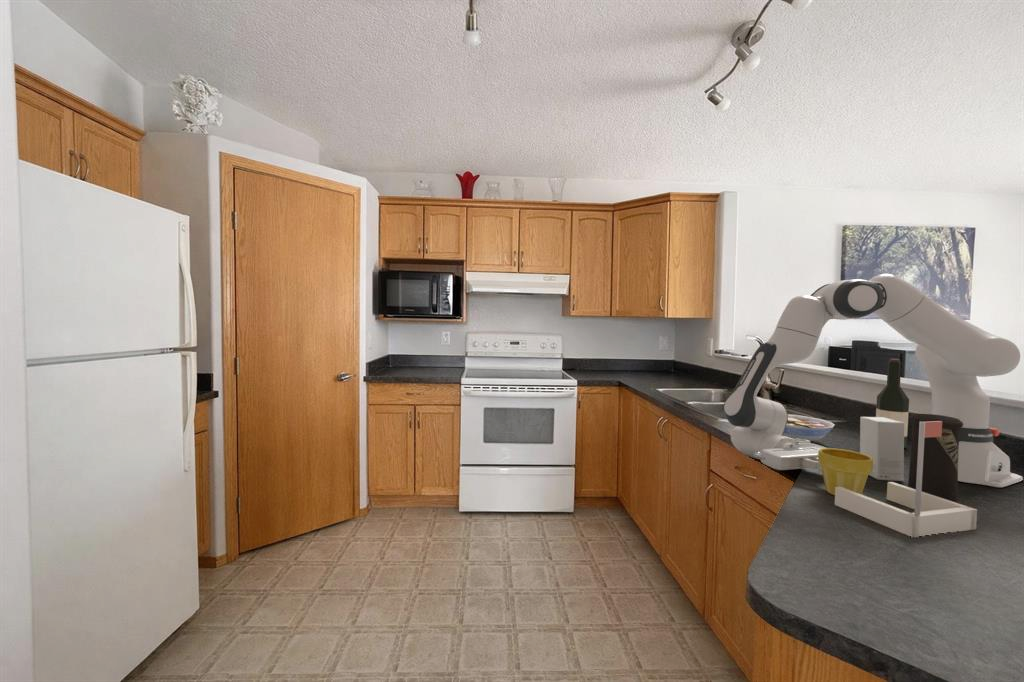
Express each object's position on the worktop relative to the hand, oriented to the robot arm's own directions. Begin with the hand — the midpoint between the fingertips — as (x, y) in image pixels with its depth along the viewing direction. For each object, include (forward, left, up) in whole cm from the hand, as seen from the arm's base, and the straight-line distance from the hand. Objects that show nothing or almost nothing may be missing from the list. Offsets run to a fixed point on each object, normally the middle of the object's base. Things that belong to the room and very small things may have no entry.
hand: (827, 467), depth 108 cm
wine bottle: (-60, -27, -5) cm, 66 cm away
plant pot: (0, +4, -5) cm, 7 cm away
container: (-18, +11, -5) cm, 22 cm away
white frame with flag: (0, +16, -5) cm, 17 cm away
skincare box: (-23, -4, -5) cm, 24 cm away
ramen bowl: (-32, -39, -5) cm, 51 cm away
